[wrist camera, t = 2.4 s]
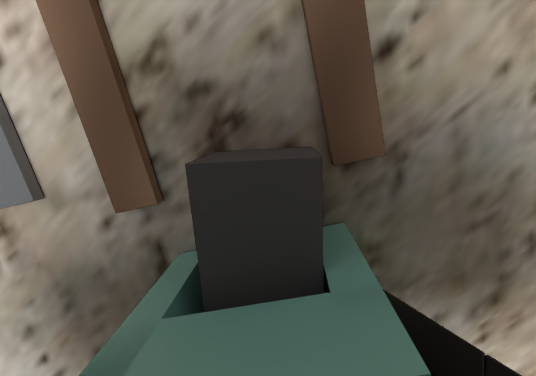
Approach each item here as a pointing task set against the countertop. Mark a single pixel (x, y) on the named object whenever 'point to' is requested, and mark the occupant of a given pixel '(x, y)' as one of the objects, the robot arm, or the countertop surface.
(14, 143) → the coaster
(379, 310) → the notched teal box
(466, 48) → the countertop surface
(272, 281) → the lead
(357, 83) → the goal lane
